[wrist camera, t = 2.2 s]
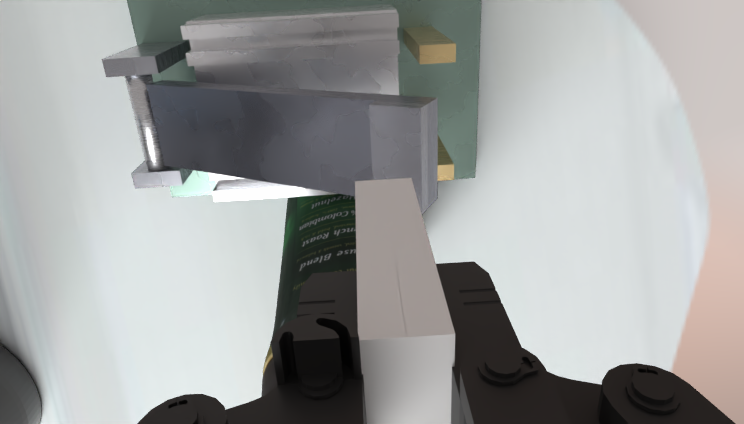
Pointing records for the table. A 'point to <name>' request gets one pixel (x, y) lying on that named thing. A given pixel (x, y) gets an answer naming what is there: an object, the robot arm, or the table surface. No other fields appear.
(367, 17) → the heatsink base
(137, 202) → the table surface
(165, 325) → the table surface
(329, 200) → the coffee jar
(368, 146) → the grey rectangular bar
